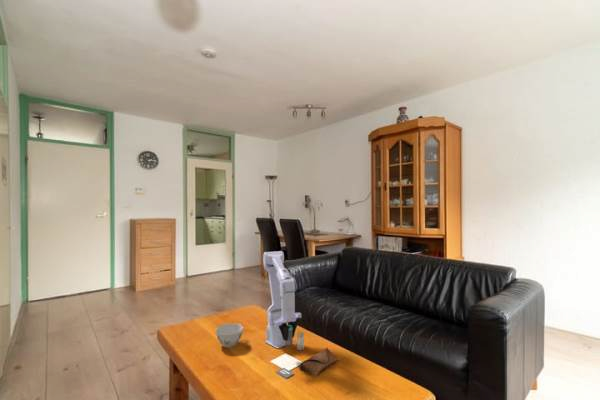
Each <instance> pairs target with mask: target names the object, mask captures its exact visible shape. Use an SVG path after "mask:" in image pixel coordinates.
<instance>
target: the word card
mask: <svg viewBox="0 0 600 400" xmlns="http://www.w3.org/2000/svg"><path fill="white" fill-rule="evenodd" d="M275 373H276V374H277V375H279V376H281V377H283V378H284V379H285V380H286V379H289V378H290V377H293V376H294V372H292V371H288V370H287V369H285V368H282V369H281V368H280V369H279V370H277V371H275Z"/></svg>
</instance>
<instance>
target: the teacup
mask: <svg viewBox="0 0 600 400" xmlns="http://www.w3.org/2000/svg"><path fill="white" fill-rule="evenodd" d="M215 331H216V332H215V334H216V337H217V338H216V339H217V340H218V342H219V344H221V345H222V346H223V347H224V348H227V347H228V349H229V348H230V347H231V348H234V347H235V346H236V345H237V344H238V343H239V341H240V340H241V339H242V335H243V332H244V327H243V325H242V324H240V323H230V322H228V323H224V324H222V325H221V324H220V325H219V326H218V327H216V329H215ZM233 346H234V347H233Z"/></svg>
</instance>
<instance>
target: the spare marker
mask: <svg viewBox="0 0 600 400" xmlns="http://www.w3.org/2000/svg"><path fill="white" fill-rule="evenodd" d="M296 349H297V350H299V351H302V350H304V349H305V332H304V331H301V330H300V331H299V330H298V331H297V332H296Z"/></svg>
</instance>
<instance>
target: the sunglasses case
mask: <svg viewBox="0 0 600 400" xmlns="http://www.w3.org/2000/svg"><path fill="white" fill-rule="evenodd" d="M338 361H339V362H340V361H341V359H340V358H338V357H337V355H335V354H334V353H333V352H332V351H331V350H330V349H329V348H328V347H326V348H325V349H323V350H321V351H318V352H317V353H316V354H314V355H312V356H311V357H309V358H307V359H306V360H304V361H301V362H302V363H301V364H300V365H299V370H300V372H303V373H305V374H307V375H310V376H312V377H314V378H317V377H318V376H319V375H320V374H322V373H323V372H324V371H325V370H327V369H328V368H330V367H332V366H333V365H334V364H336V362H337V363H338Z"/></svg>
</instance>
